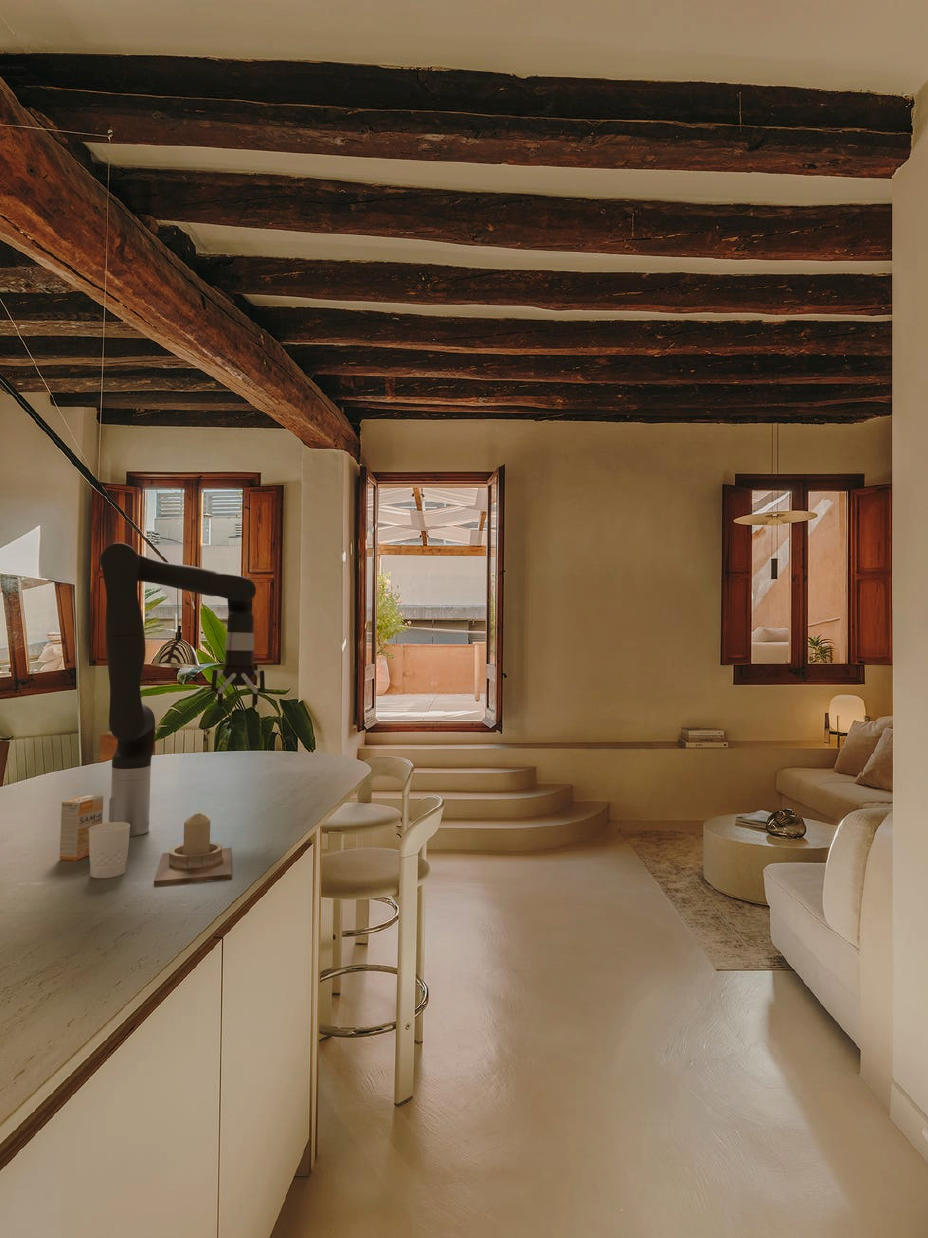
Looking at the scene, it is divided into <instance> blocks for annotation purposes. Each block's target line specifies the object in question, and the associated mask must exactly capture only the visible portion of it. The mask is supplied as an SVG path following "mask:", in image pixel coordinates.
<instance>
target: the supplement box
mask: <svg viewBox="0 0 928 1238" xmlns="http://www.w3.org/2000/svg"><path fill="white" fill-rule="evenodd" d="M60 812H61V813H60V816H61V817H60V839H59V840H60V841H59V859H60V860H64V861H75V862H76V861H78V860H81V859H83V858H86V857H90V854H89V828H90V827H91V826H94V825H97V824H102V823H103V818H104V817H103V815H104V814H103V813H104V796H103V795H94V794H92V795H88V794H87V795H84V796H81V797H76V798H73V799H69V800H63V801H61V811H60Z"/></svg>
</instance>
